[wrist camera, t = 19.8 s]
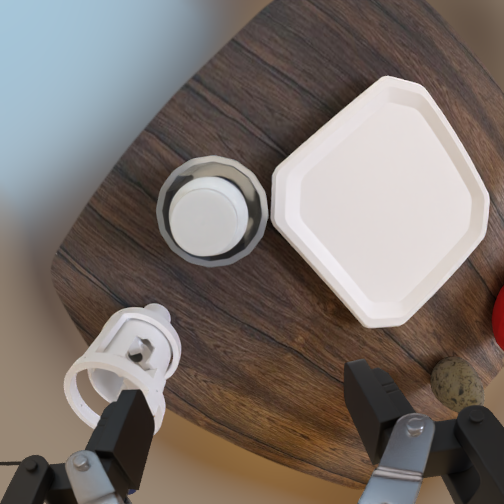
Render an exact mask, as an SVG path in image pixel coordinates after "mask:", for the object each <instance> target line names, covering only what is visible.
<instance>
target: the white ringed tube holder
mask: <svg viewBox="0 0 504 504" xmlns="http://www.w3.org/2000/svg"><path fill="white" fill-rule="evenodd" d="M170 321H171V317H170V314H169V312H168V310H167V309H166V308H165V307H164V306H162V305H160V304H156V303H152V304H149V305H147V306H146V307H145V308H139V307H130V308H125V309H122V310H119V311H118V312H116V313H115V314H113V315H112V316H111V317H110V319H109V320H108V321H107V322H106V324H105V325H104V327H103V329H102V331H101V333H100V334H99V335H98V337H97V338H96V339H95V340H94V342H93V343H92V344H91V346H90V347H89V348H88V349H87V351H86V352H85V353H84V355H83V356H82V357H80V358H79V359H78V360H76V361H75V363H74V364H73V365H72V367H71V368H70V369H69V371H68V372H67V374H66V376H65V379H64V391H65V395H66V398H67V400H68V402H69V404H70V406H71V407H72V409H73V410H74V412H75V413H76V414H77V415H78V416H79V417H80V418H81V419H82V420H83V421H84V422H85V423H86V424H87V425H89V426H90V427H91V428H93V429H95V427H96V426H97V423H98V421H99V419H100V416H99V415H97V414H96V413H95V412H93V411H92V410H91V409H90V408H89V407H88V406H87V405H86V403H85V402H84V401H83V399H82V398H81V396H80V394H79V392H78V389H77V385H76V375H77V372H79V371H81V370H84V369H88V375H89V379H90V382H91V384H92V385H93V387H94V389H95V390H96V391H97V392H98V394H100V395H101V396H102V397H103V398H104V399H105V400H106V401H108V402H110V403H112V402H113V401H117V399H118V397H119V395H120V393H121V391H122V390H131V389H140V390H142V392H143V394H144V396H145V399H146V401H147V403H148V406H149V408H150V410H151V412H152V415H155V417H154V421H155V431H154V434H155V433H156V432H157V431H158V430H159V429H160V426H161V424H162V420H163V416H164V413H165V400H164V396H163V394H162V392H163V389H164V386H165V383H166V379H168V378H169V377H170V376H171V375H172V374H173V373H174V372H175V370H176V369H177V366H178V363H179V360H180V356H181V343H180V339H179V337H178V334H177V332H176V331H175V329H174V328H173V326H172V325H171V324H170ZM172 350H173V361H172V363H171V364H170V365H169V366H168V364H169V362H170V359H171V356H172ZM154 434H153V435H154Z"/></svg>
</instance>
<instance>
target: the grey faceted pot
mask: <svg viewBox="0 0 504 504" xmlns="http://www.w3.org/2000/svg"><path fill="white" fill-rule="evenodd" d="M200 177H222V178H225V179H228V180H230V181H231V182H233V183H234V184H235V185H237V186H238V188H239V189H240V190H241V192H242V194H243V196H244V198H245V201H246V204H247V208H248V223H247V227H246V231H245V233H244V235H243V237H242V238H241V240H240V241H239V242H238V243H237V244H236V245H235V246H234V247H233V248H232V249H230V250H229V251H227V252H225V253H222V254H219V255H214V256H196V255H192V254H190V253H188V252H186V251H185V250H183V249H182V248H181V247H180V246H179V245H178V244H177V242H176V241H175V239H174V238H173V235H172V232H171V228H170V223H169V209H170V205H171V202H172V199H173V197H174V196H175V194H176V193H177V192H178V190H179V189H180V188H181V187H182V186H184V185H185V184H186V183H188V182H190V181H192V180H194V179H196V178H200ZM156 214H157V220H158V225H159V230H160V233H161V235H162V236H163V238H164V239H165V241H166V242H167V244H168V246H169V247H170V249H171V250H172V251H173V252H175V253H176V254H178V255H179V256H180V257H182V258H183V259H185V260H186V261H187V262H189V263H193V264H197V265H201V266H205V267H217V266H224V265H230V264H233V263H234V262H236V261H238V260H240V259H241V258H243V257H245V256H246V255H248V254H249V253H251V251H252V250H253V249H254V247H255V246H256V245H257V243H258V242H259V241H260V240H261V238H262V237H263V234H264V231H265V227H266V223H267V220H268V216H269V215H268V214H269V213H268V206H267V199H266V193H265V191H264V189H263V188H262V186H261V184H260V182H259V181H258V179H257V177H256V176H255V174H254V173H253V172H251V171H250V170H249V169H247V168H246V167H245V166H243V165H242V164H240V163H239V162H238V161H236V160H233V159H229V158H225V157H220V156H216V155H211V156H205V157H199V158H194V159H191V160H189V161H188V162H186V163H184V164H183V165H181V166H180V167H178V168H177V169H175V170H174V171H173V172H172V173H171V174H170V176H169V177H168V179H167V180H166V182H165V183H164V185H163V186H162V188H161V189H160V193H159V198H158V202H157V207H156Z"/></svg>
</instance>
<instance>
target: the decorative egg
mask: <svg viewBox="0 0 504 504" xmlns="http://www.w3.org/2000/svg"><path fill="white" fill-rule="evenodd" d="M430 383H431V388H432V391H433V393H434V395H435V396H436V398H437V399H438V400H439V401H440V402H441V403H442V404H443V405H445V406H446V407H448V408H449V409H451V410H453V411H455V412H457V413H459V412H460V411H461V410H462V409H464V408H465V407H467V406H471V405H480V406H483V404H484V390H483V386H482V383H481V380H480V378H479V376H478V374H477V372H476V371H475V369H474V368H473V367H472V366H471V364H470V363H468V362H467V361H466V360H464V359H462V358H460V357H455V356H452V357H447V358H444V359H442V360H441V361H439V362H438V363H437V364H436V365H435V367H434V369H433V371H432V373H431V379H430Z"/></svg>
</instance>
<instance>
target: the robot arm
mask: <svg viewBox="0 0 504 504" xmlns="http://www.w3.org/2000/svg"><path fill="white" fill-rule="evenodd" d="M344 398H345V403H346V406H347V408H348V411H349V413H350V415H351V417H352V419H353V422H354V424H355V426H356V428H357V431H358V433H359V435H360V437H361V439H362V442H363V444H364V446H365V448H366V451H367V453H368V455H369V457H370V460H371V462H372V464H373V465H375V464H378V463H379V465H378V467H377V469H375V470H374V471H373V473H372V475H371V477H370V479H369V481H368V484H367V486H366V488H365V490H364V492H363V494H362V496H361V498H360V500H359V501H358V503H357V504H415V502H416V499H417V496H418V493H419V490H420V487H421V484H422V480H423V478H427V477H434V476H441V477H442V479H443V481H444V483H445V485H446V487H447V489H448V491H449V493H450V495H451V497H452V499H453V501H454V503H455V504H504V427H503V426H502V425H501V423H500V422H499V421H498V420H497V418H496V417H495V416H494V415H493V413H492V412H491V411H490V410H489V409H488V408H486V407H484V406H480V405H471V406H467V407H465V408H464V409H462V410H461V411H460V412H459V414H458V417H457V419H452V420H445V421H433V420H432V419H431V418H430V417H428V416H426V415H424V414H420V413H416V412H415V410H414V409H413V407H412V406H411V405H410V403H409V402H408V400H407V399H406V397H405V396H404V395H403V393H402V392H401V390H399V388H398V386H397V385H396V383H394V381H393V379H392V378H391V376H390V375H389V374H388V373H387V372H385V371H384V370H382V369H380V368H375V369H371V368H370V367H369V365H368V364H367V362H366V361H365V359H360V360H356V361H351V362H347V363H345V365H344ZM154 431H155V421H154V417H153V415H152V412H151V410H150V408H149V406H148V403H147V401H146V399H145V396H144V394H143V392H142V390H140V389H131V390H122V391H121V393H120V395H119V397H118V399H117V401H113V402H112V403H110V404H109V405H108V406H107V407H106V408H105V409H104V411H103V413H102V415H101V417H100V419H99V421H98V423H97V426H96V427H95V429H94V431H93V433H92V436H91V438H90V440H89V442H88V444H87V446H86V448H85V450H81V451H77V452H75V453H73V454H72V455H71V456H70V457H69V458H68V459H67V461H66V463H61V464H50V465H49V464H48V462H47V461H46V460H45V459H44V458H43V457H42V456H39V455H32V456H29V457H27V458H25V459H24V460H23V461H22V462H0V465H19V467H18V469H17V471H16V472H15V475H14V477H13V478H12V480H11V482H10V484H9V486H8V488H7V490H6V492H5V494H4V496H3V499H2V501H1V503H0V504H43V503H44V502H45V503H46V504H132V503H131V501H130V500H129V498H128V497H127V496H128V493H129V491H130V489H134V490H139V486H140V483H141V478H142V475H143V471H144V467H145V463H146V460H147V456H148V452H149V449H150V445H151V441H152V438H153V434H154Z"/></svg>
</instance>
